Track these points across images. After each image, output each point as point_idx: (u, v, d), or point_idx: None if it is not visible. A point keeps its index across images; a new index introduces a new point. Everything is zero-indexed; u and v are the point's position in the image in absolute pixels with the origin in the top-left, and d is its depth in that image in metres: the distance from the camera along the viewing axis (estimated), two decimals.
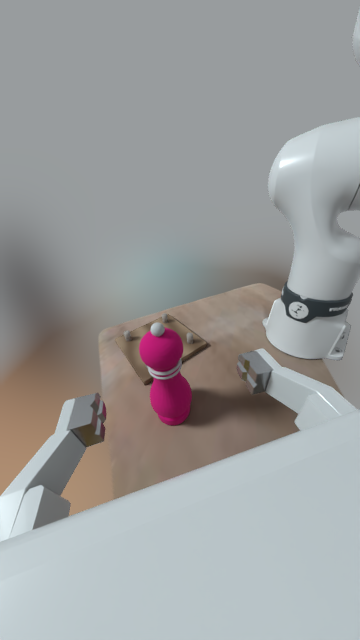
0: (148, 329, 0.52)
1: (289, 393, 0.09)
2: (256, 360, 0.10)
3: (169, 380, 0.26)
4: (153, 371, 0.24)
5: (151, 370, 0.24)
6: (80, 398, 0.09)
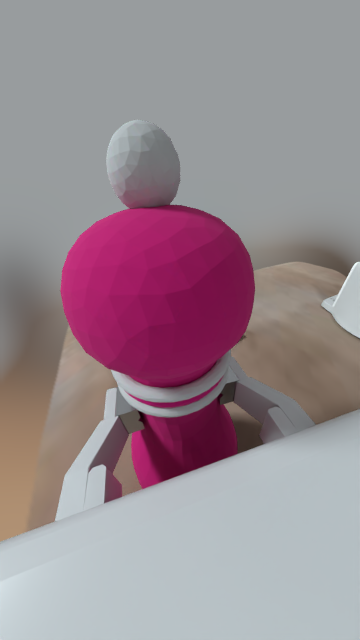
0: None
1: (254, 404, 0.09)
2: None
3: (188, 416, 0.07)
4: (128, 384, 0.06)
5: (121, 380, 0.06)
6: None
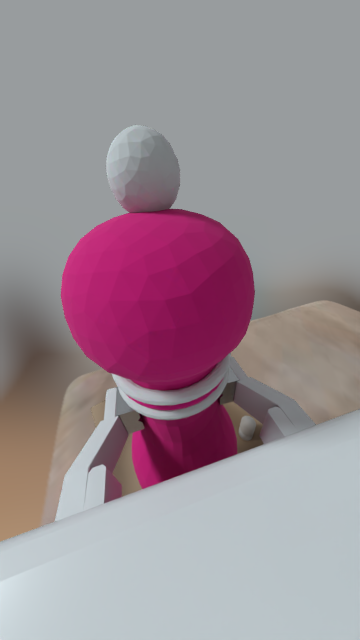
0: None
1: (254, 404, 0.09)
2: None
3: (188, 418, 0.07)
4: (128, 387, 0.06)
5: (122, 382, 0.06)
6: None
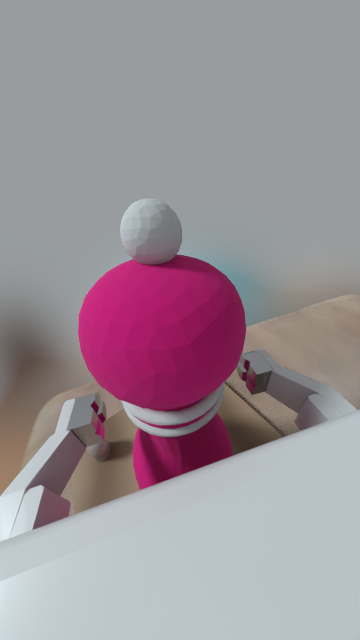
0: None
1: (289, 393, 0.09)
2: (256, 360, 0.10)
3: (187, 434, 0.08)
4: (134, 407, 0.07)
5: (127, 403, 0.07)
6: (80, 398, 0.09)
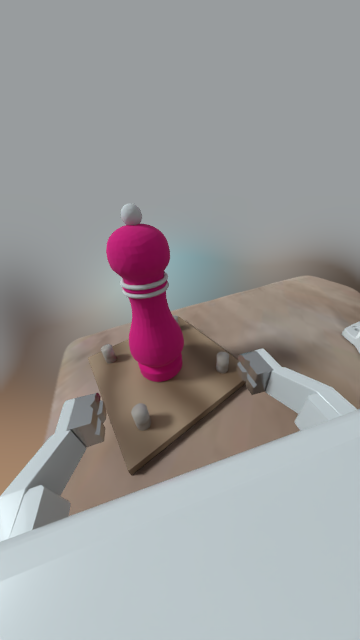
0: None
1: (289, 393, 0.09)
2: (256, 360, 0.10)
3: (150, 304, 0.18)
4: (127, 285, 0.17)
5: (124, 285, 0.17)
6: (80, 398, 0.09)
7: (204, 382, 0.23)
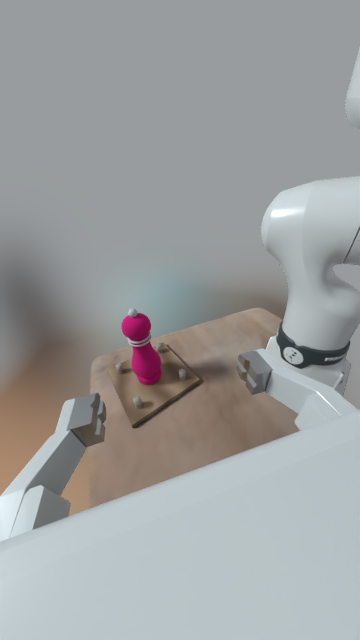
0: None
1: (289, 393, 0.09)
2: (256, 360, 0.10)
3: (142, 348, 0.39)
4: (130, 341, 0.37)
5: (129, 340, 0.38)
6: (80, 398, 0.09)
7: (172, 385, 0.43)
